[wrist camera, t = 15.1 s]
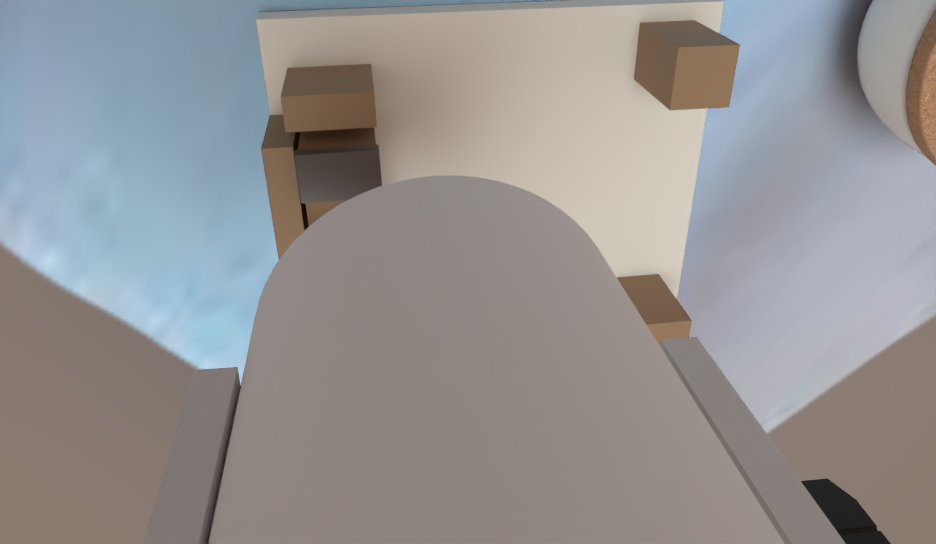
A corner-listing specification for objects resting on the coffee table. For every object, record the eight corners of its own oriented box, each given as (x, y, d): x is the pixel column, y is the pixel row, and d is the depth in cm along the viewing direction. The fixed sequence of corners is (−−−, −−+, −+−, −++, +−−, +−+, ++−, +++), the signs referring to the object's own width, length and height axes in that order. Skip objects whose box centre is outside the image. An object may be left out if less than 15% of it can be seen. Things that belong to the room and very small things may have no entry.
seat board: (259, 12, 31) (241, 50, 26) (710, -6, 34) (780, 26, 28) (307, 339, 40) (301, 419, 35) (663, 307, 43) (710, 378, 37)
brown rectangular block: (389, 290, 37) (395, 344, 33) (325, 295, 37) (322, 351, 33) (374, 111, 33) (379, 149, 29) (300, 116, 32) (294, 155, 28)
